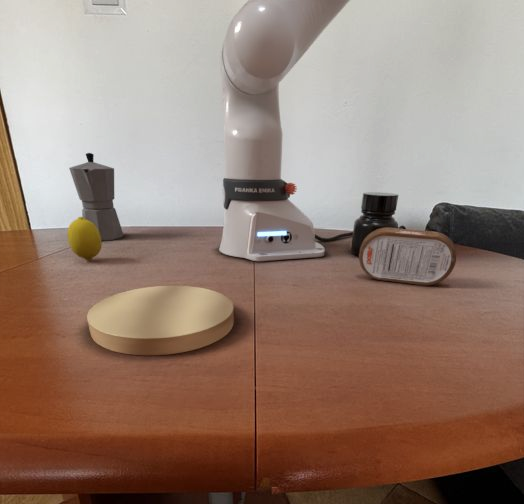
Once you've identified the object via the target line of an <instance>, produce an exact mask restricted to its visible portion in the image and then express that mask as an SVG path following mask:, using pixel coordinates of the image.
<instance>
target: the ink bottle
mask: <svg viewBox="0 0 524 504" xmlns="http://www.w3.org/2000/svg"><path fill="white" fill-rule="evenodd" d="M398 200H399V194H397V193H392V192H376V191H375V192H373V191H371V192H370V191H369V192H368V191H367V192H363V193H362V200H361V207H360V209H361V210H360V212H361V214H362V215H360V216H359V217H357V219H355V220H354V223H353V228H352V232H353V235H352V237H351V243H350V252H351V254H352V255H354V256H357V257H359V253H360V248H361V245H362V243H363V241H364V239H365V238H366V237H367V236H368V235H369V234H370V233H372V232H373V231H375V230H377V229H381V228H399V223H398V221H397V220H395V219H396V218H395V217H394V215H395V214H396V211H397V205H398Z"/></svg>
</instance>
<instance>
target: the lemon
mask: <svg viewBox="0 0 524 504" xmlns="http://www.w3.org/2000/svg"><path fill="white" fill-rule="evenodd" d="M67 241H68V244H69V247H70V249H71V251H72V252H73V253H74V254H75V255H76V256H78V257H80V258H82V259H84V260H85V261H87V262H92V260H93V258H95V257H97V256H98V255H99V253H100V252H101V250H102V241H101V237H100V234H99V231H98V229H97V227H96V226H95V225H94V224H93V223H92V222H91V221H89V220H86V219H84V218H83V217H82V216H78V217H77V218H76V219H74V220H73V221H72V222H71V223H70V224H69V225H68V227H67Z"/></svg>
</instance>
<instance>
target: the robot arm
mask: <svg viewBox="0 0 524 504" xmlns="http://www.w3.org/2000/svg"><path fill="white" fill-rule="evenodd" d="M350 1H351V0H247V1H246V2H245V3H244V4H243V5H242V7H241V8H240V9H239V10H238V11H237V12H236V14H234V16H233V17H232V19H231V21H230V22H229V25H228V27H227V30H226V34H225V37H224V41H223V43H222V47H221V50H220V57H219V65H220V66H219V67H220V86H221V87H220V89H221V106H222V107H221V108H222V121H223V141H224V143H223V144H224V145H223V146H224V147H223V148H224V178H223V179H222V205H223V208H224V217H223V228H222V234H221V240H220V245H219V248H218V251H219V252H220V253H222V254H223V255H226V256H230V257H236V258H243V259H246V260H250V261H253V262H269V261H282V260H296V259H308V258H309V259H310V258H321V257H322V258H323V257H324V256H325V254H326V249H325V247H324V246H323V245H322V244H321V243H319V242H318V241H320V242H325V243H328V242H333V241H336V240H338V239H341V238H347V237H351V236H353V231H350V232H344V233H341V234H337V235H335V236H332V237H321V236H319V235H317V234H316V232H315V227H314V223H313V221H312V220H311V219H310V217H308V215H306V214H305V213H304V212H303V211H302V210H301V209H300V208H299V207H298V206H296V205H295V204H294V203H293V202H292V201H291V200H290V199H289V198H290V197H291V195H295V194H296V193H297V190H298V188H297V185H296V184H295V183H293V182H286V181H285V180H283V179H282V160H283V159H282V158H283V157H282V156H283V128H282V122H281V121H282V120H281V111H280V95H279V92H280V91H279V89H280V86H279V85H280V83H281V82H282V81H283V79H285V77H286V76H287V75H288V74H289V72H291V70H292V69H293V68H294V67H295V65H296V64H297V63H298V62H299V61H300V60H301V59H302V57H303V56H304V55H305V54H306V53H307V51H309V49H310V48H311V46H312V45H314V43H315V41H316V40H317V39H318V38H319V37H320V35H322V33H323V32H324V31H325V29H327V27H328V26H329V25H330V24H331V23H332V21H333V20H334V19H336V17H337V16H338V15H339V14H340V13H341V12H342V10H343V9H344V8H345V7H346V6H347V5H348V4H349V2H350ZM398 229H407V228H406V226H405V225H400V226H398ZM316 240H317V241H316Z"/></svg>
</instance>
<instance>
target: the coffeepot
mask: <svg viewBox="0 0 524 504" xmlns="http://www.w3.org/2000/svg"><path fill="white" fill-rule="evenodd" d="M85 157H86V160H87V162H84V163H81V164H77V165H73V166H71V167H69V168H68V169H69V171H70V175H71V178H72V181H73V184H74V187H75V189H76V193H77V195H78V199H79V200H80V201H81V204H82V205H81V206H82V209H81V213H82V215H81V217H83V218H84V219H86V220H89V221H91V222H92V223H93V224H94V225H95V226H96V227H97V229H98V231H99V234H100V237H101V242H104V241H106V242H107V241H114V240H119V239H122V238H123V237H124V232H123V229H122V225H121V221H120V219H119V216H118V213H117V211H116V210H117V209H116V208H115V207H114V206H115V205H114V200H115V168H114V167H111V166H108V165H104V164H101V163H98V162H95V161H94V153H92V152H87V153H85Z"/></svg>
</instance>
